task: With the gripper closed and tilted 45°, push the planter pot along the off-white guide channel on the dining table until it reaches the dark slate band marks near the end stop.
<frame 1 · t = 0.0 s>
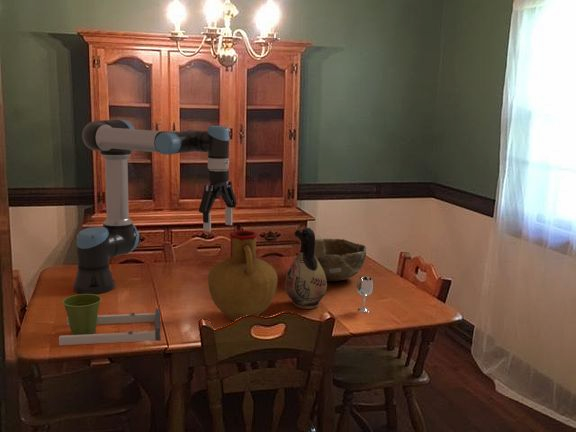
hand: (218, 228, 227), 28 cm above the table, tool pointing down, fingers open, 13 cm apart
ceramic jug: (306, 306, 230), on the table
vase: (242, 318, 217), on the table
bowl: (333, 280, 263), on the table
plant pot: (83, 333, 199), on the table
wineglass: (363, 310, 227), on the table
guide channel: (112, 331, 201), on the table
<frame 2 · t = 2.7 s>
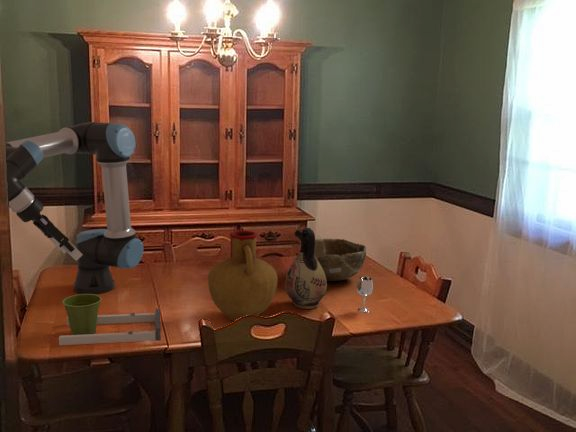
hand: (73, 254, 198), 25 cm above the table, tool tilted 40°, fingers open, 13 cm apart
nothing on the table moved.
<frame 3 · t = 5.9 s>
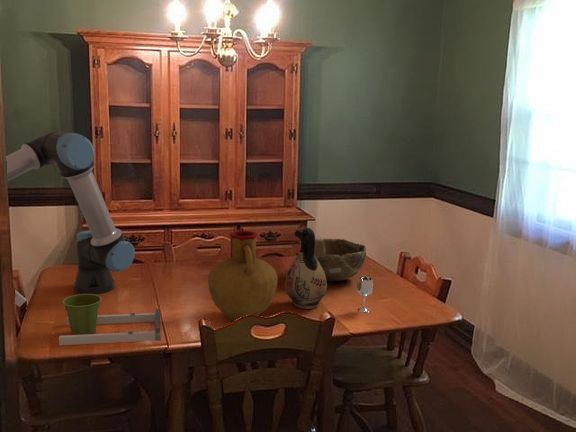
hand: (23, 303, 193), 11 cm above the table, tool tilted 45°, fingers closed
nothing on the table moved.
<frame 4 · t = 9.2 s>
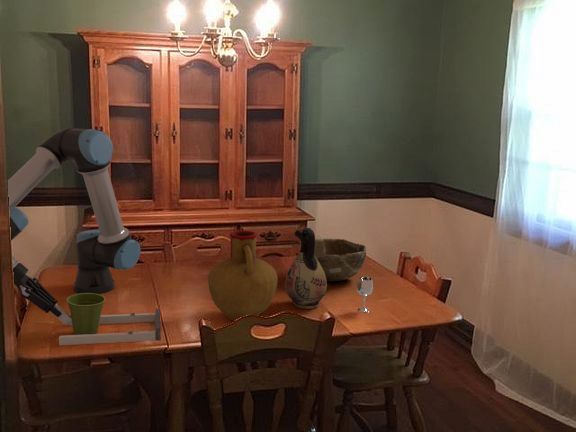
hand: (68, 320, 196), 5 cm above the table, tool tilted 45°, fingers closed
plant pot: (85, 333, 199), on the table, touching gripper
everything else where it was.
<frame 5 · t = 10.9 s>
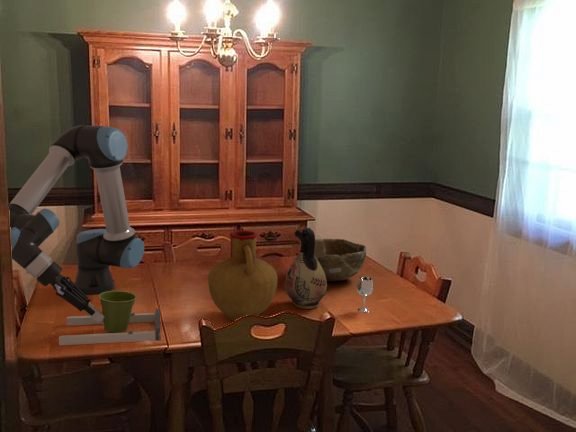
hand: (101, 319, 198), 5 cm above the table, tool tilted 45°, fingers closed
plant pot: (115, 330, 202), on the table, touching gripper
everything else where it was.
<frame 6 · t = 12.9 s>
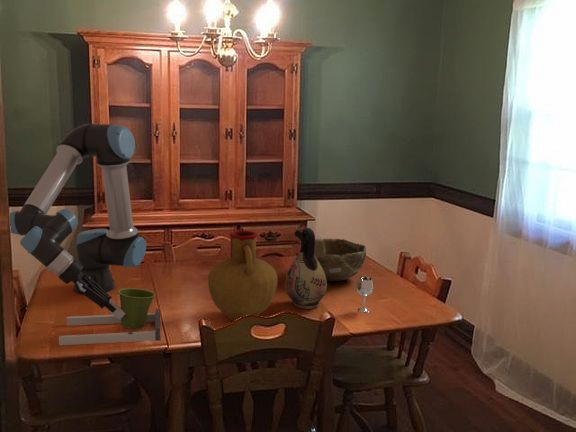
hand: (122, 316, 200), 5 cm above the table, tool tilted 45°, fingers closed
plant pot: (132, 326, 205), on the table, touching gripper
everything else where it was.
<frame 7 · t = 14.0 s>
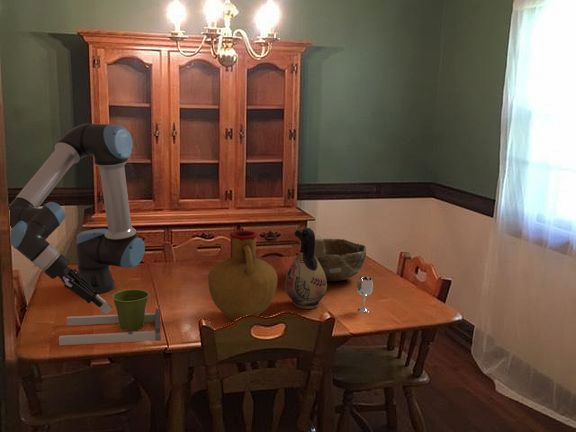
hand: (109, 310, 200), 7 cm above the table, tool tilted 45°, fingers closed
plant pot: (131, 328, 205), on the table
everything else where it was.
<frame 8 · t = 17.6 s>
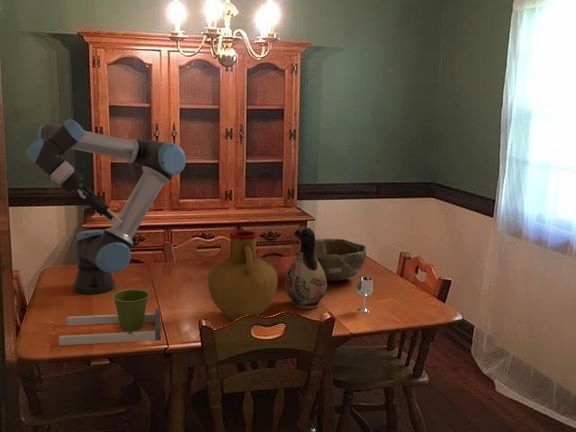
hand: (119, 224, 219), 30 cm above the table, tool tilted 45°, fingers closed
nothing on the table moved.
at the end: plant pot 3.0 cm from the target spot on the guide channel, point 0.0 cm above the guide channel's base; plant pot tilted 0°; plant pot moved 15.1 cm from its start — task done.
